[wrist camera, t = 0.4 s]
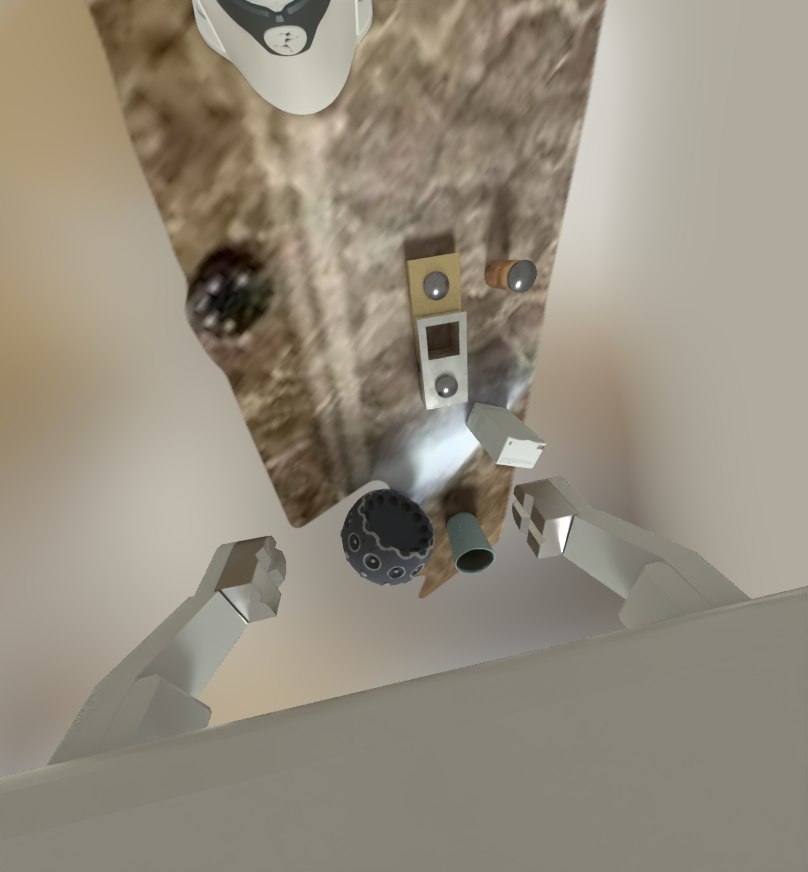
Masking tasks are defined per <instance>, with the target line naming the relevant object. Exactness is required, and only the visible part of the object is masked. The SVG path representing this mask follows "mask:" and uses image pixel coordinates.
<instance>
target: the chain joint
mask: <svg viewBox="0 0 808 872" xmlns="http://www.w3.org/2000/svg"><path fill="white" fill-rule="evenodd" d="M406 270H407V278H408V287H409V296H410V305H411V314H412V322H413V331H414V340H415V349H416V358H417V361H418V363H419V364H420V370H418V375H419V384H420V393H421V399H422V401H423V404H424V406H425V408H426V410H428V409H433V408H438V407H444V406H449V405H454V404H459V403H465V402H468V383H467V322H466V311H464V310H462V309H461V289H460V252H458V253H450V254H444V255H438V256H432V257H426V258H420V259H414V260H407V261H406ZM445 323H450V326H451V347H449V348H444V349H438V350H433V351H428V348H427V337H426V327H427V326H433V325H439V324H445Z"/></svg>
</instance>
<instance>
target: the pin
mask: <svg viewBox="0 0 808 872" xmlns="http://www.w3.org/2000/svg"><path fill="white" fill-rule="evenodd" d="M536 275H537V270H536V266H535V265H534V263H533V262H531V261H529V260H496V261H494V262H492V263H491V264H490V265H489V266H488V267H487V269H486V272H485V281H486V283H487V285H488V286H490V287H492V288H498V289H503V290H508V291H513V292H518V293H521V292H525V291H527V290H528V289H529V288H530V287H531V286H532V285H533V283H534V282H535V279H536Z"/></svg>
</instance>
